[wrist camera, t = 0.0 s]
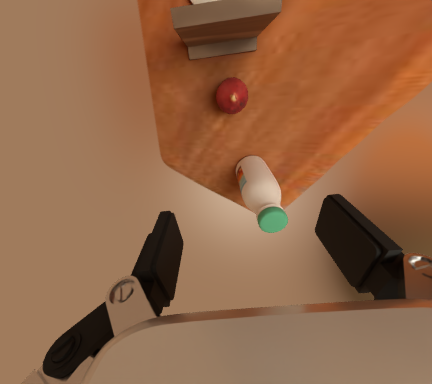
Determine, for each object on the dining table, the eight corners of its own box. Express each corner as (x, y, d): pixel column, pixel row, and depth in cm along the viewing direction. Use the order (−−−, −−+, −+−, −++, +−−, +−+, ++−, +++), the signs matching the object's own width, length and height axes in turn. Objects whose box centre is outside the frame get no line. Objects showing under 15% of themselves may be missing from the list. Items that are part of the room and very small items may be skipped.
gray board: (184, 22, 28) (165, -16, 17) (256, 11, 27) (284, -36, 17) (190, 60, 31) (177, 47, 20) (255, 50, 30) (279, 32, 19)
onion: (250, 94, 34) (259, 96, 27) (230, 117, 36) (234, 125, 30) (229, 70, 32) (234, 67, 25) (210, 96, 34) (209, 100, 27)
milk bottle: (244, 149, 40) (266, 197, 24) (271, 161, 42) (309, 213, 25) (230, 175, 44) (240, 233, 27) (255, 185, 46) (279, 244, 29)
